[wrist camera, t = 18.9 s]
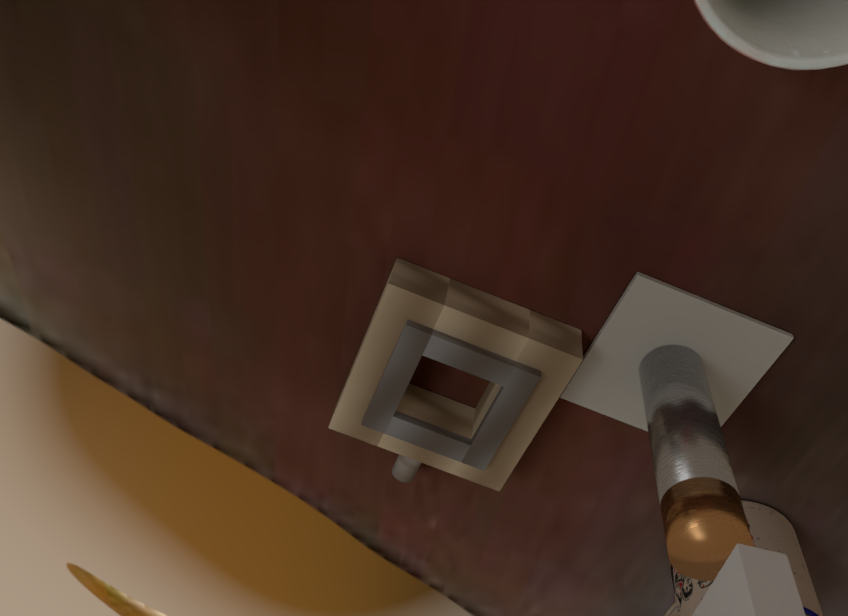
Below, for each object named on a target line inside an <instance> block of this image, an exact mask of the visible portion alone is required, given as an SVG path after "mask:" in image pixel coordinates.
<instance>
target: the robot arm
mask: <svg viewBox="0 0 848 616" xmlns="http://www.w3.org/2000/svg"><path fill="white" fill-rule="evenodd" d="M692 616H806V615H805V612H804V609H803V606H802V603H801V599H800V596H799V593H798V590H797V587H796V583H795V580H794V577H793V574H792V571H791V567H790V564H789V561H788V558H787V555H786V554H782V553H777V552H773V551H769V550H765V549H760V548H756V547H752V546H747V545H743V544H739V543H737V544H736V546H735V548H734V549H733V551H732V552H731V554H730V556H729V557H728V559H727V560H726V562H725V564H724V565H723V567H722V568H721V570H720V572H719V573H718V575H717V576H716V578H715V580H714V581H713V583H712V584H711V586H710V588H709V589H708V591H707V592H706V594H705V596H704V597H703V599H702V600H701V602H700V604H699V605H698V607H697V608H696V610H695V612H694V613H693V615H692Z"/></svg>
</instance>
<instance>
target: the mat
mask: <svg viewBox="0 0 848 616" xmlns="http://www.w3.org/2000/svg"><path fill="white" fill-rule="evenodd" d="M793 339H794V337H793V335H792V334H791V333H788V332H786V331H783V330H781V329H778V328H776V327H773V326H771V325H768V324H766V323H763V322H761V321H759V320H756V319H754V318H751V317H749V316H746V315H744V314H741V313H739V312H736V311H734V310H731V309H729V308H726V307H724V306H721V305H719V304H717V303H714V302H712V301H709V300H707V299H704V298H702V297H699V296H697V295H694V294H692V293H689V292H687V291H684V290H682V289H679V288H677V287H675V286H672V285H670V284H667V283H665V282H662V281H660V280H657V279H655V278H652V277H650V276H647V275H645V274H642V273H640V272H637V273H636V274H635V276H634V277H633V279H632V280H631V282H630V284H629V285H628V287H627V288H626V290H625V292H624V293H623V295H622V296H621V298H620V299H619V301H618V303H617V304H616V306H615V307H614V309H613V311H612V312H611V314H610V315H609V317H608V318H607V320H606V322H605V323H604V325H603V326H602V328H601V329H600V331H599V333H598V334H597V336H596V337H595V339H594V341H593V342H592V344H591V345H590V347H589V348H588V350H587V352H586V353H585V355H584V356H583V361H582V362H581V364H580V365H579V367H578V368H577V370H576V372H575V373H574V375H573V376H572V378H571V379H570V381H569V383H568V384H567V386H566V387H565V389H564V390H563V392H562V394H561V395H560V398H562V399H565V400H567V401H570V402H572V403H575V404H578V405H580V406H583V407H585V408H588V409H591V410H593V411H596V412H598V413H601V414H604V415H606V416H609V417H611V418H614V419H617V420H619V421H622V422H624V423H627V424H630V425H632V426H635V427H637V428H640V429H643V430H645V431H648V427H647V421H646V415H645V408H644V402H643V396H642V390H641V384H640V377H639V366H640V363H641V361H642V359H643V358H644V357H645V356H646V354H648V353H649V352H650V351H652V350H653V349H655V348H658V347H660V346H664V345H673V344H674V345H682V346H686V347H688V348H690V349H692V350H694V351H695V352H696V353H697V354H698V355H699V356H700V357H701V359H702V362H703V365H704V369H705V372H706V376H707V380H708V383H709V387H710V390H711V394H712V398H713V401H714V405H715V408H716V412H717V416H718V419H719V423H720V426H722V425H723V424H724V423H725V422H726V420H727V419H728V418H729V417H730V415H731V414H732V413H733V412H734V411H735V409H736V408H737V407H738V406H739V404H740V403H741V402H742V401H743V400H744V398H745V397H746V396H747V395H748V393H749V392H750V391H751V390H752V389H753V387H754V386H755V385H756V384H757V383H758V381H759V380H760V379H761V378H762V376H763V375H764V374H765V373H766V372H767V370H768V369H769V368H770V367H771V365H772V364H773V363H774V362H775V361H776V359H777V358H778V357H779V356H780V354H781V353H782V352H783V351H784V350H785V348H786V347H787V346H788V345H789V344H790V342H791V341H792V340H793Z"/></svg>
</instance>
